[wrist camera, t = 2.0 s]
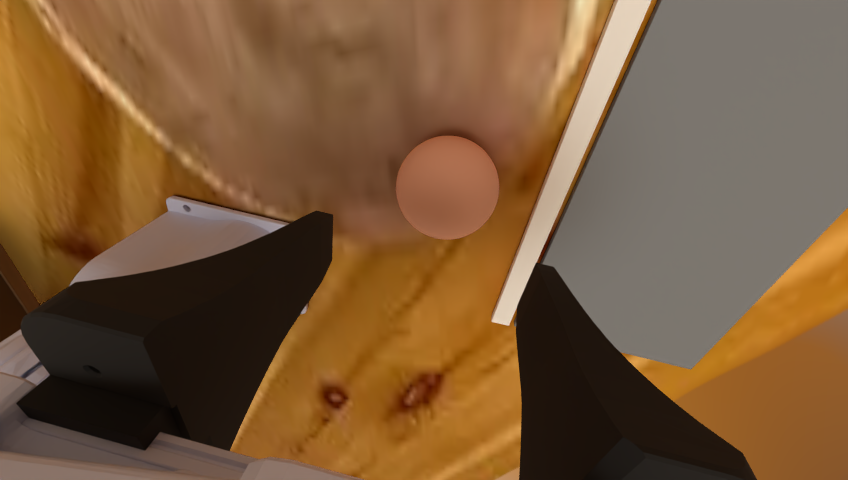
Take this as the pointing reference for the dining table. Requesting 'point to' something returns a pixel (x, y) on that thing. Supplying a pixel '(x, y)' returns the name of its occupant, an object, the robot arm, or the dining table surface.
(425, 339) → the dining table surface
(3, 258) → the photo frame
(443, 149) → the ball
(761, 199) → the mat
